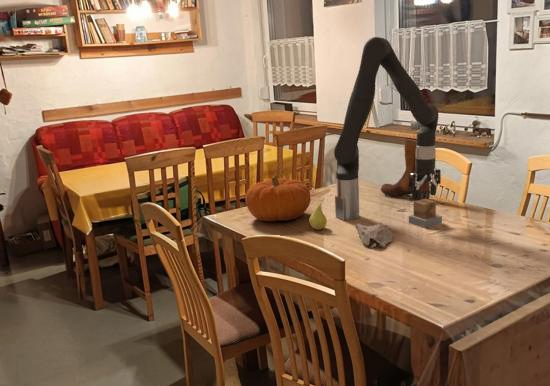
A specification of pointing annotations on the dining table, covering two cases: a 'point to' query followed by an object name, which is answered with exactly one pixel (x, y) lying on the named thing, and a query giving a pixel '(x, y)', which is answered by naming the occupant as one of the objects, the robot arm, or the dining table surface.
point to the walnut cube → (424, 208)
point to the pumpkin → (278, 199)
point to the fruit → (318, 218)
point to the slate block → (425, 221)
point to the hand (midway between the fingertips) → (424, 196)
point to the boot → (407, 177)
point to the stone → (374, 234)
